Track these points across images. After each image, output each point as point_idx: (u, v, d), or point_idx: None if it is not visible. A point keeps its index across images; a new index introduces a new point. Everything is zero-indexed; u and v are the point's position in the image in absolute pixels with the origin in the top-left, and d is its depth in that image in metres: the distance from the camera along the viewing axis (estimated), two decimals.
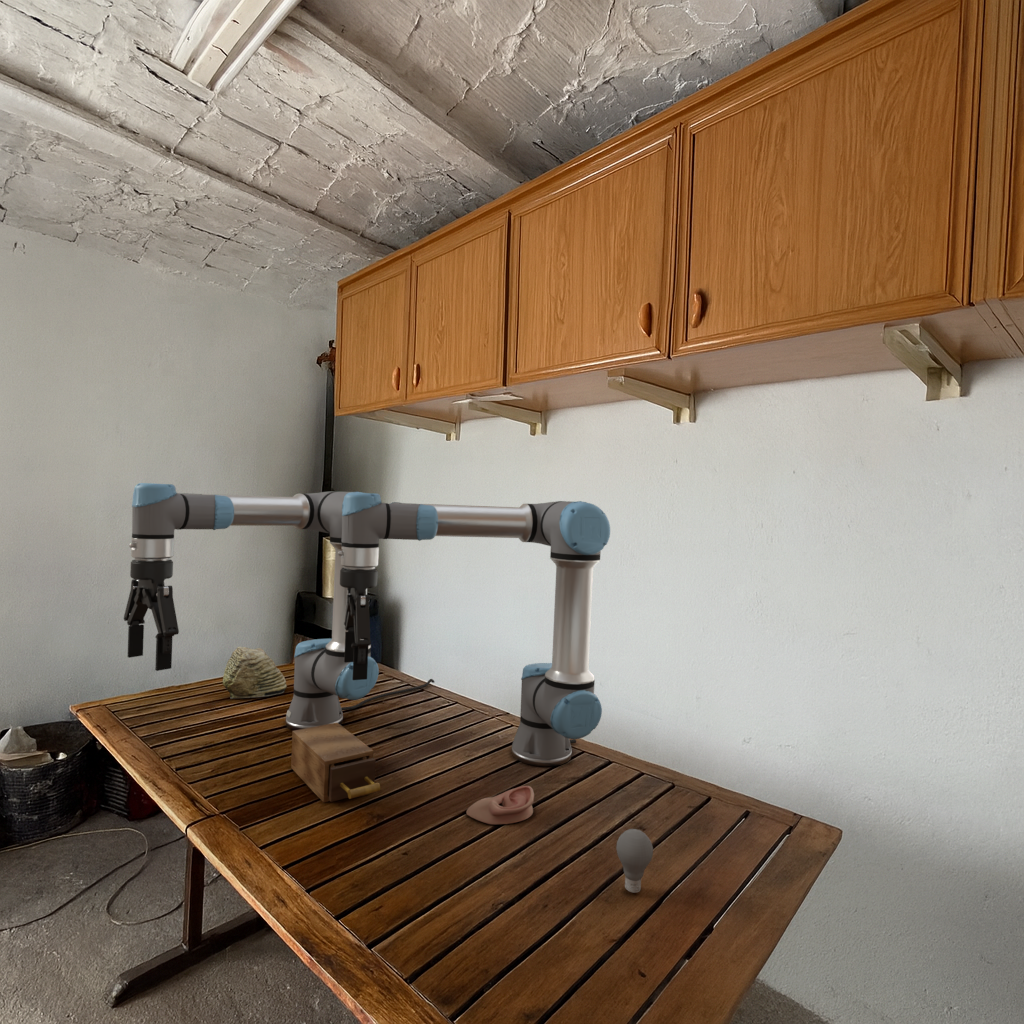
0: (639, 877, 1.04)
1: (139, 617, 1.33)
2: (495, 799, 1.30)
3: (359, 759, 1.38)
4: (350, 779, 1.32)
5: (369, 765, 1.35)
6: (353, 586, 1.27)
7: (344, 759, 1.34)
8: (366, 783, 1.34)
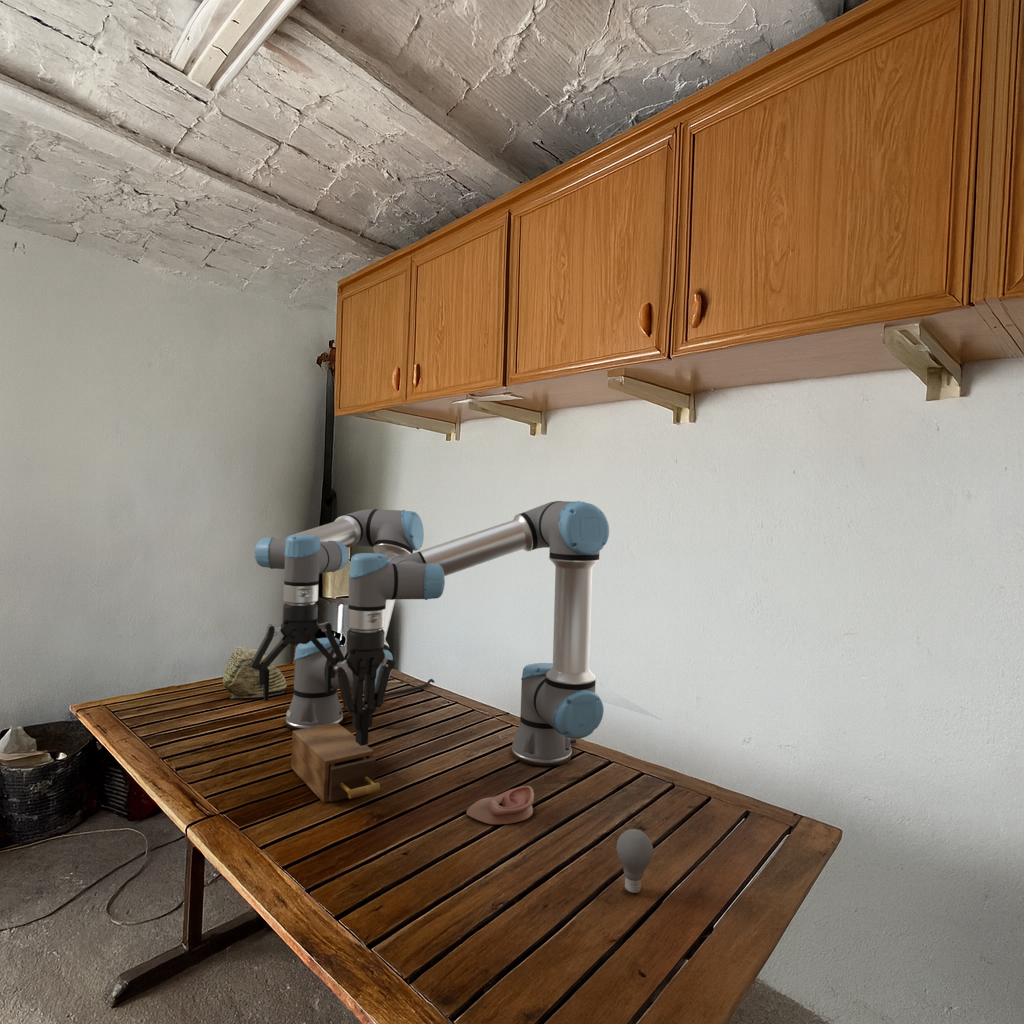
0: (639, 877, 1.04)
1: None
2: (495, 799, 1.30)
3: (359, 759, 1.38)
4: (350, 779, 1.32)
5: (369, 765, 1.35)
6: None
7: (344, 759, 1.34)
8: (366, 783, 1.34)
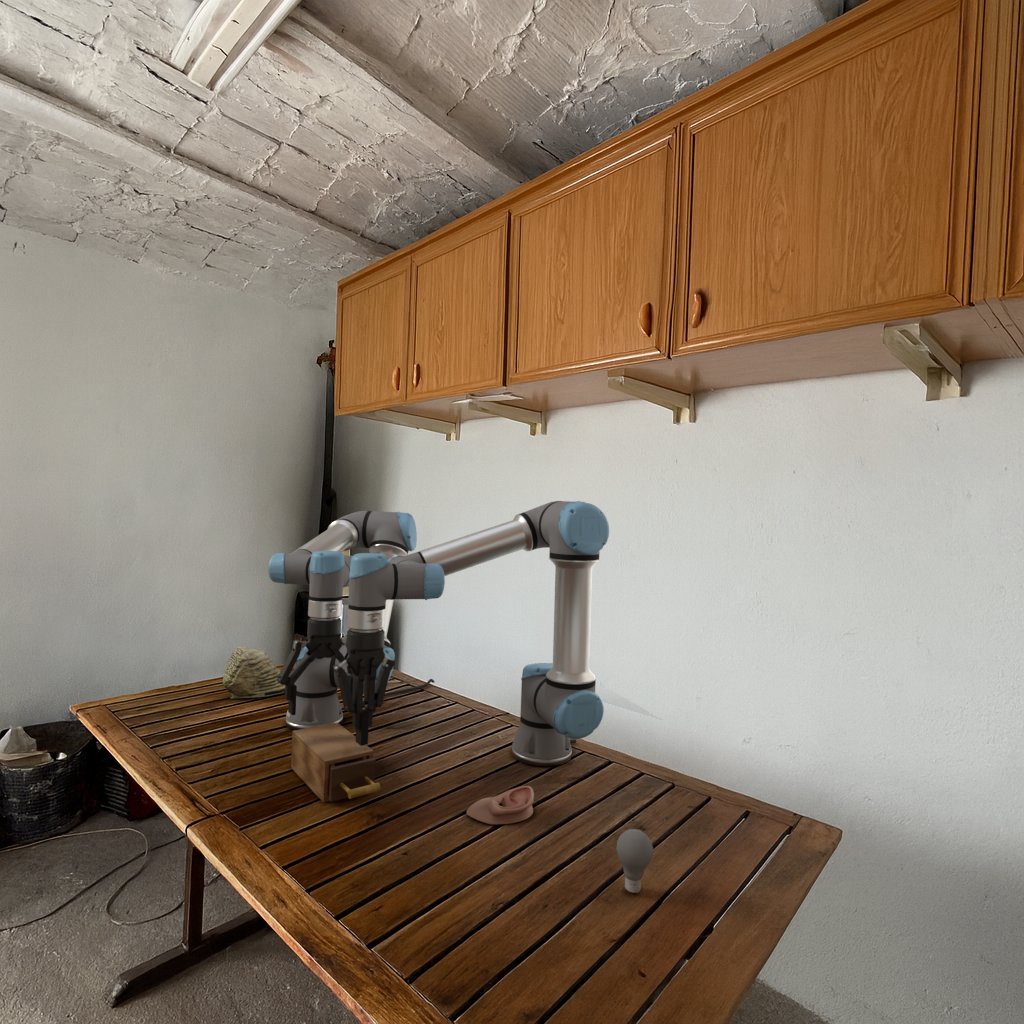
0: (639, 877, 1.04)
1: None
2: (495, 799, 1.30)
3: (359, 759, 1.38)
4: (350, 779, 1.32)
5: (369, 765, 1.35)
6: None
7: (344, 759, 1.34)
8: (366, 783, 1.34)
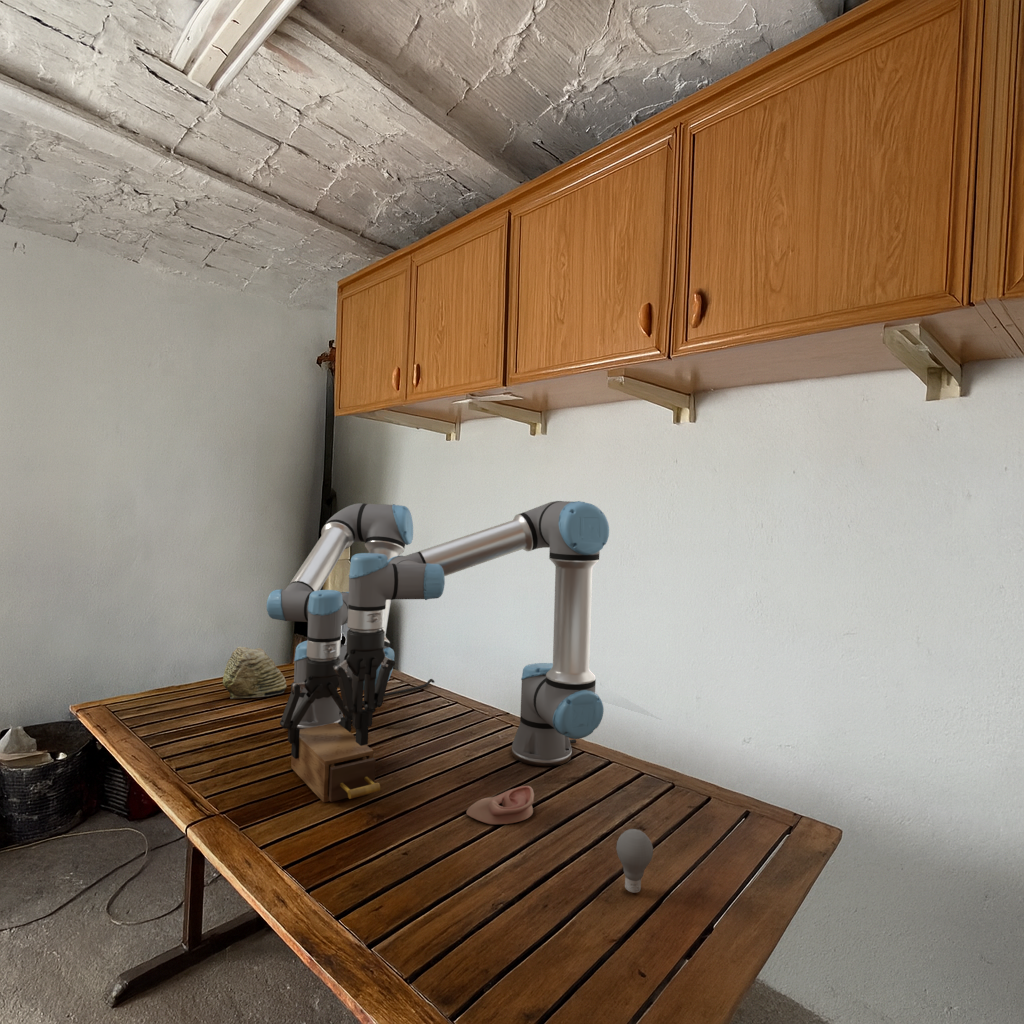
0: (639, 877, 1.04)
1: None
2: (495, 799, 1.30)
3: (359, 759, 1.38)
4: (350, 779, 1.32)
5: (369, 765, 1.35)
6: None
7: (344, 759, 1.34)
8: (366, 783, 1.34)
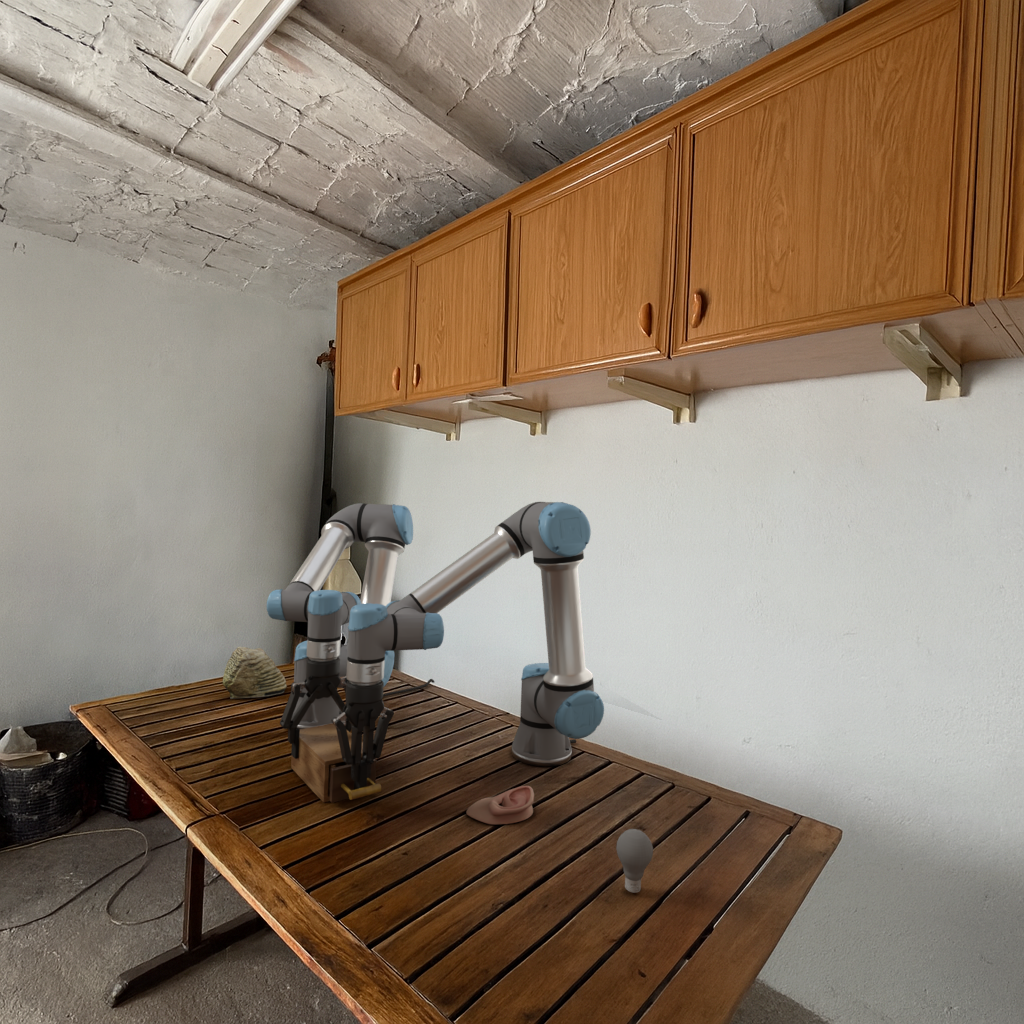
0: (639, 877, 1.04)
1: None
2: (495, 799, 1.30)
3: None
4: (351, 780, 1.32)
5: None
6: None
7: None
8: (367, 784, 1.34)
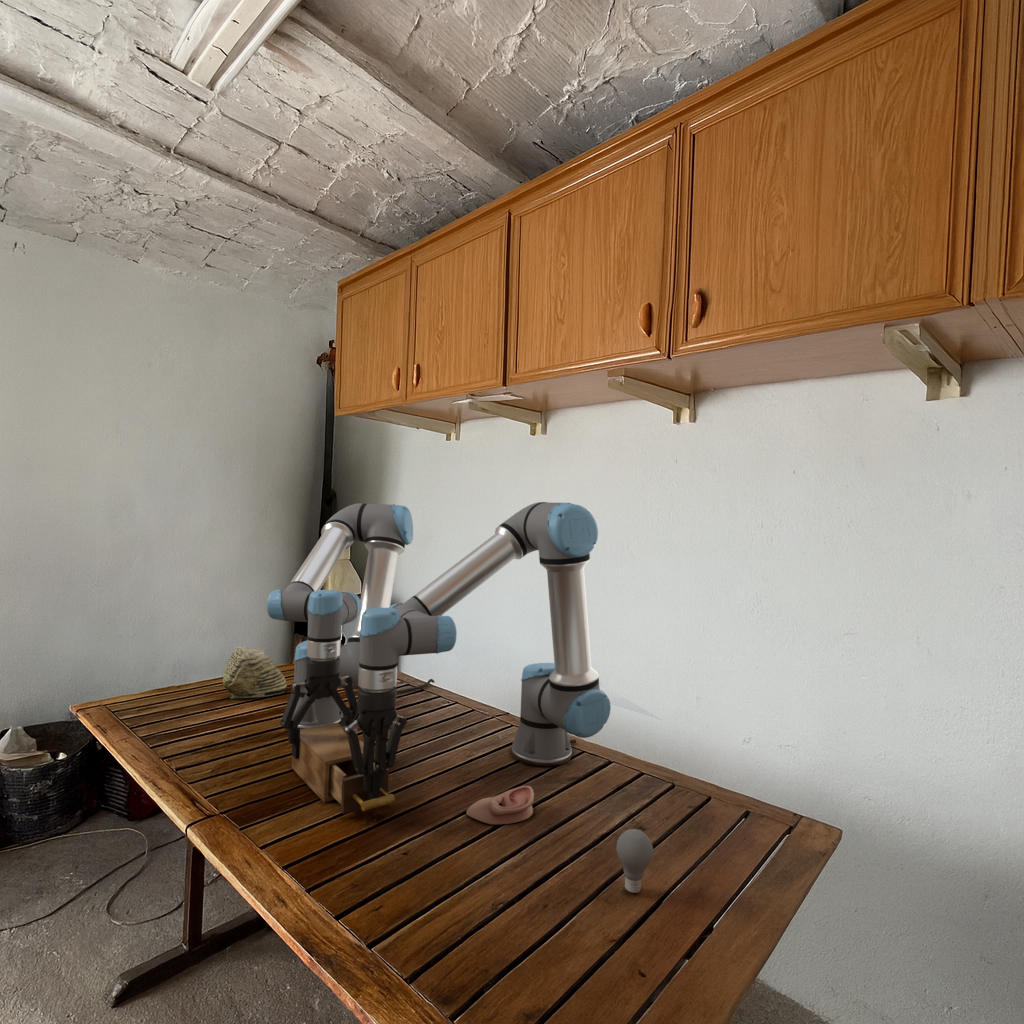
0: (639, 877, 1.04)
1: None
2: (495, 799, 1.30)
3: None
4: (363, 790, 1.27)
5: None
6: None
7: (345, 759, 1.34)
8: (379, 794, 1.30)
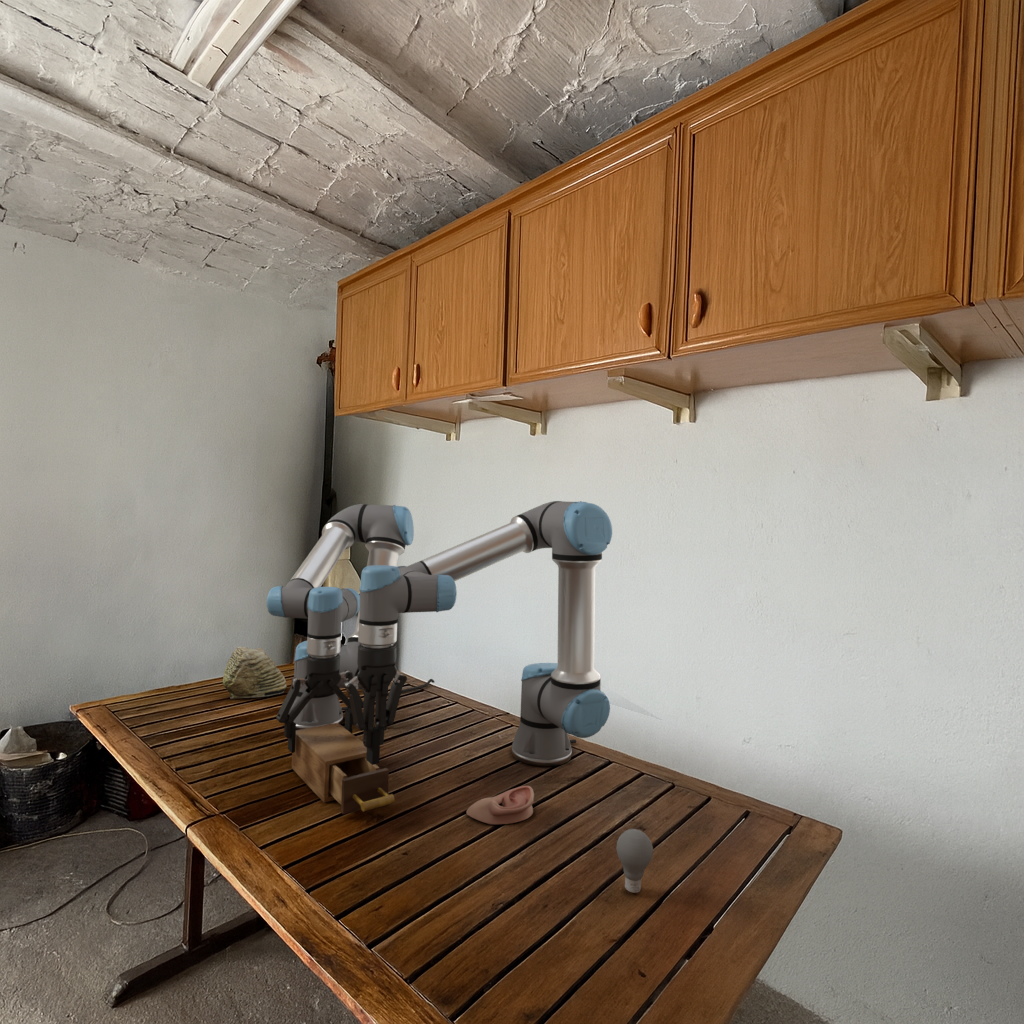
0: (639, 877, 1.04)
1: None
2: (495, 799, 1.30)
3: (372, 769, 1.33)
4: (363, 790, 1.27)
5: (382, 776, 1.30)
6: None
7: (345, 759, 1.34)
8: (379, 794, 1.30)
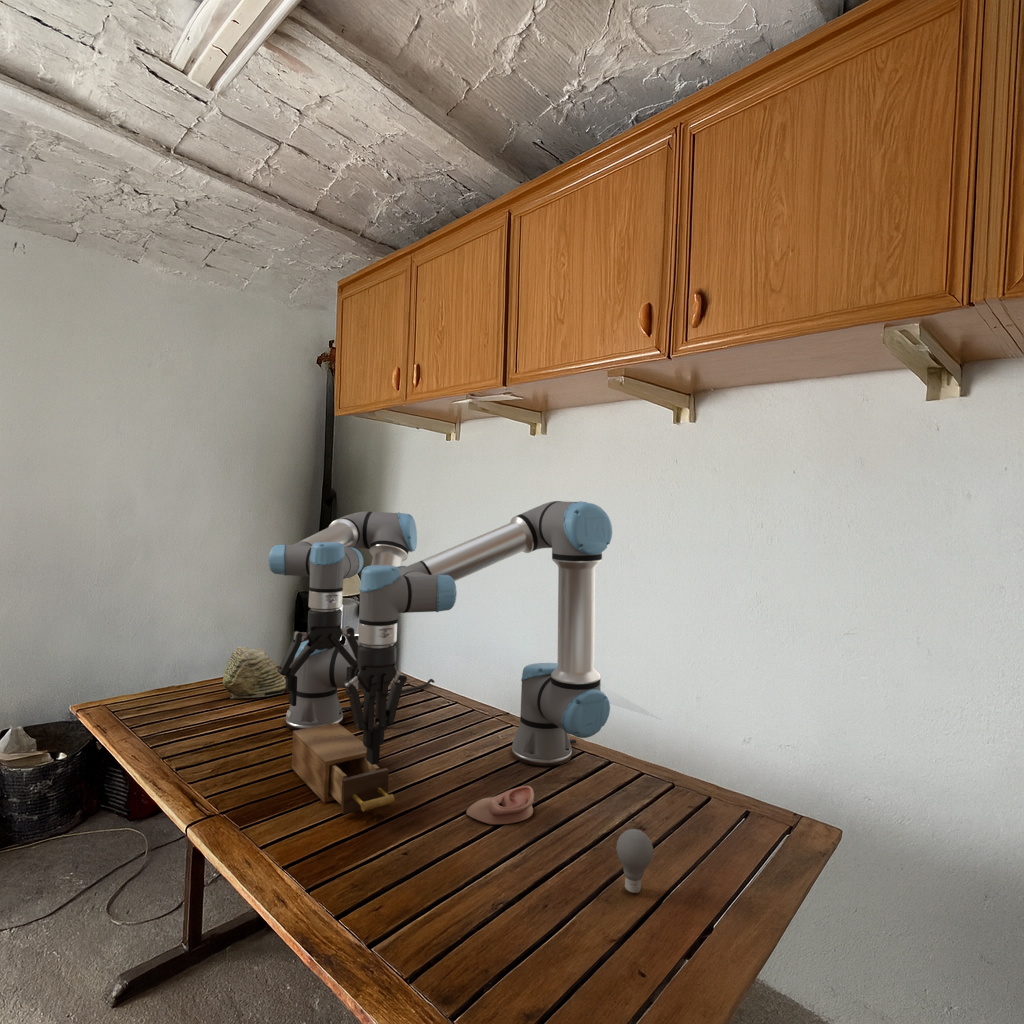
0: (639, 877, 1.04)
1: None
2: (495, 799, 1.30)
3: (372, 769, 1.33)
4: (363, 790, 1.27)
5: (382, 776, 1.30)
6: None
7: (345, 759, 1.34)
8: (379, 794, 1.30)
